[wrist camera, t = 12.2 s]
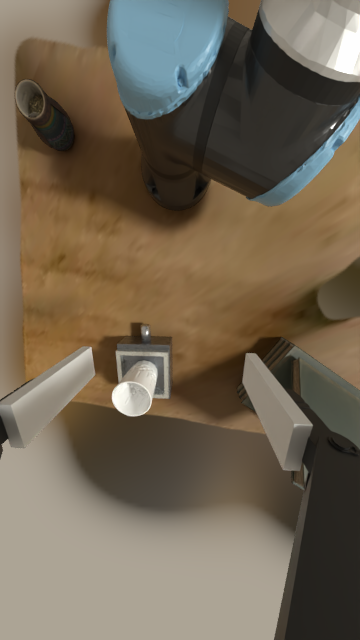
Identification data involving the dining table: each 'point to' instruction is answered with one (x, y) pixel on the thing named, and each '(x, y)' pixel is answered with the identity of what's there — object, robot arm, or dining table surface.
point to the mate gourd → (44, 115)
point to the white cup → (136, 389)
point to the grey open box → (147, 358)
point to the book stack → (313, 393)
